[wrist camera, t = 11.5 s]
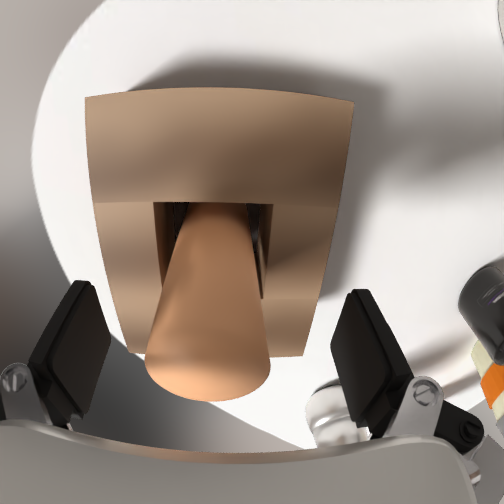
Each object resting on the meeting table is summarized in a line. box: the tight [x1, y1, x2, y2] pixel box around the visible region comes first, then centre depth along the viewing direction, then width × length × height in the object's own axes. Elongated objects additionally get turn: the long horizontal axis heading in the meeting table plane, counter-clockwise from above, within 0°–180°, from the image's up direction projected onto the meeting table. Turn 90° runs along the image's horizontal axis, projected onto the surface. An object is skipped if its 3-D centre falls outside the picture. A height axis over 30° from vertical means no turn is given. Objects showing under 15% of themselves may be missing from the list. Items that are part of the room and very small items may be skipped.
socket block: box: [85, 87, 354, 357], centre depth 17 cm, size 16×12×5 cm
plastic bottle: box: [306, 385, 368, 448], centre depth 23 cm, size 6×7×20 cm
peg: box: [145, 202, 271, 401], centre depth 14 cm, size 4×4×12 cm
